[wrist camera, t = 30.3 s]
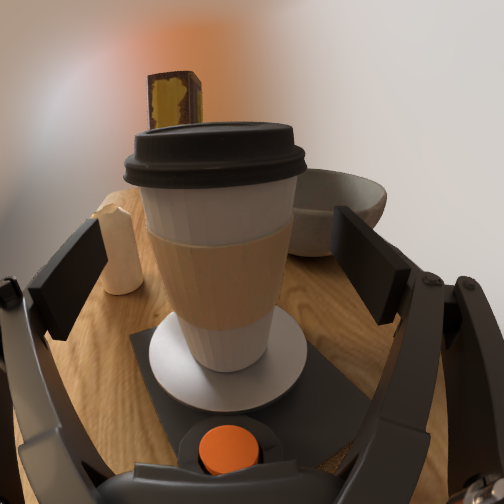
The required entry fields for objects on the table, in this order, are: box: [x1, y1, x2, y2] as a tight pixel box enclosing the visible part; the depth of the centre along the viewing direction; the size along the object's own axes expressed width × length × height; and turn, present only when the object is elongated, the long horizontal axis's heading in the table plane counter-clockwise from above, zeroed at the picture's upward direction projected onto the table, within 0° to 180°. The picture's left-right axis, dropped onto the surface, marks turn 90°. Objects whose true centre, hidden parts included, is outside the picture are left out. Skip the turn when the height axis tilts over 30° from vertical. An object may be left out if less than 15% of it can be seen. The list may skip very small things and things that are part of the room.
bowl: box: [288, 169, 387, 257], centre depth 39 cm, size 20×20×10 cm
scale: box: [129, 326, 372, 476], centre depth 20 cm, size 18×14×3 cm
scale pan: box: [149, 305, 307, 415], centre depth 21 cm, size 12×12×1 cm
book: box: [146, 71, 203, 130], centre depth 44 cm, size 22×8×25 cm, turn 6°
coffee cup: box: [123, 122, 307, 372], centre depth 17 cm, size 9×9×15 cm
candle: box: [90, 203, 143, 295], centre depth 31 cm, size 6×6×10 cm
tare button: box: [199, 425, 259, 476], centre depth 13 cm, size 3×3×2 cm
